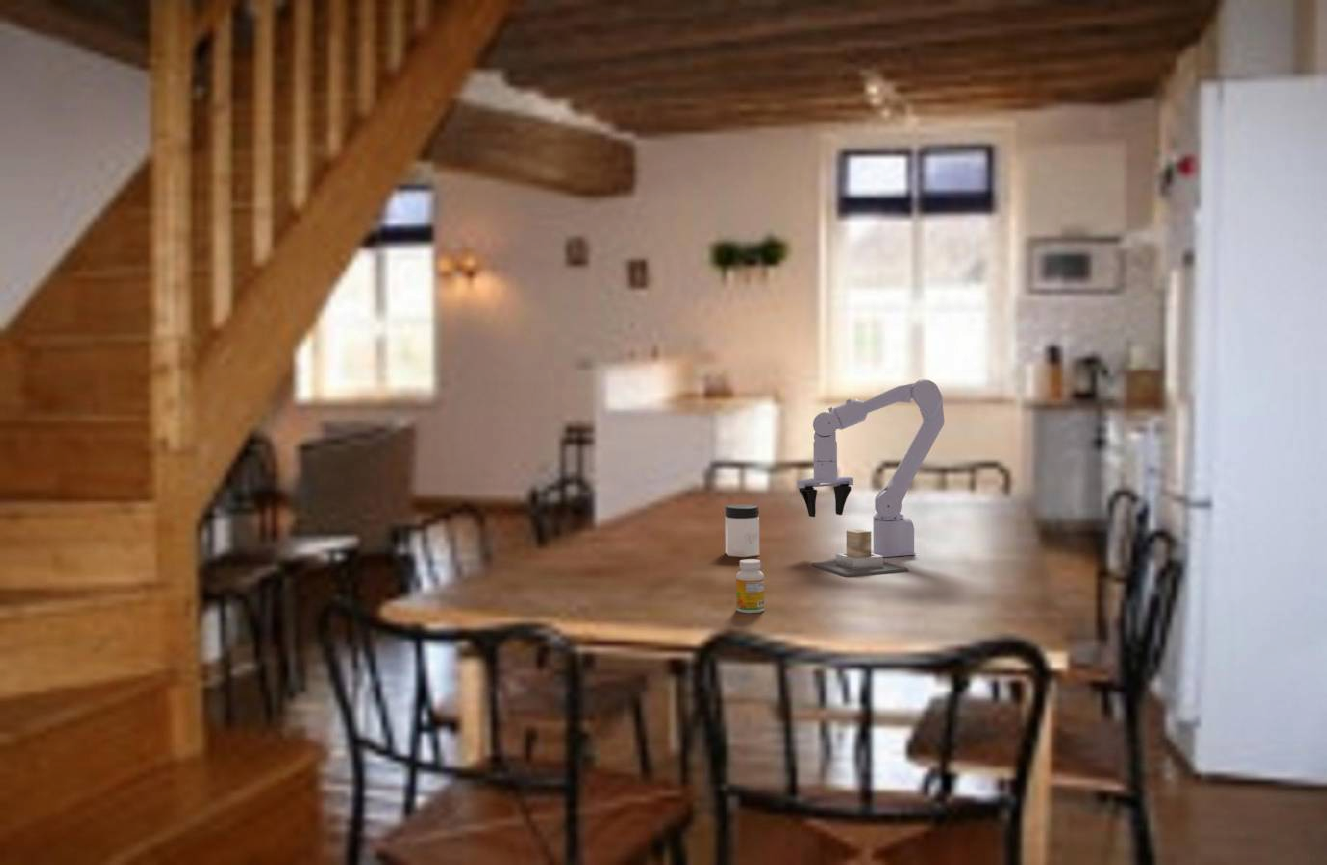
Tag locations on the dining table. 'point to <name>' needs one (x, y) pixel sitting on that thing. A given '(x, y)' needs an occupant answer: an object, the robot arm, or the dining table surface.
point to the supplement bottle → (750, 587)
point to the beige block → (858, 543)
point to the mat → (848, 572)
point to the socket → (859, 561)
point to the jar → (742, 530)
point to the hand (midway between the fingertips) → (825, 515)
